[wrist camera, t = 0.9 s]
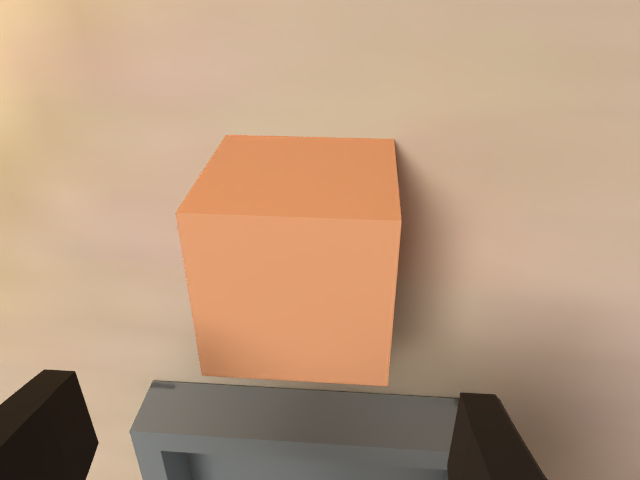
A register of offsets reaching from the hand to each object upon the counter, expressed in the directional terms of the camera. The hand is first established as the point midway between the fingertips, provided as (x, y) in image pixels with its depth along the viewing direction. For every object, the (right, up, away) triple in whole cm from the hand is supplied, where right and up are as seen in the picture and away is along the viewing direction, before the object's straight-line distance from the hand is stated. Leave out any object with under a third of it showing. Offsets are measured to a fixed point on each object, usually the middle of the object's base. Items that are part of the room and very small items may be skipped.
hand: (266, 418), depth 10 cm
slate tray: (+1, -9, +15) cm, 18 cm away
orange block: (+1, +4, +7) cm, 8 cm away
